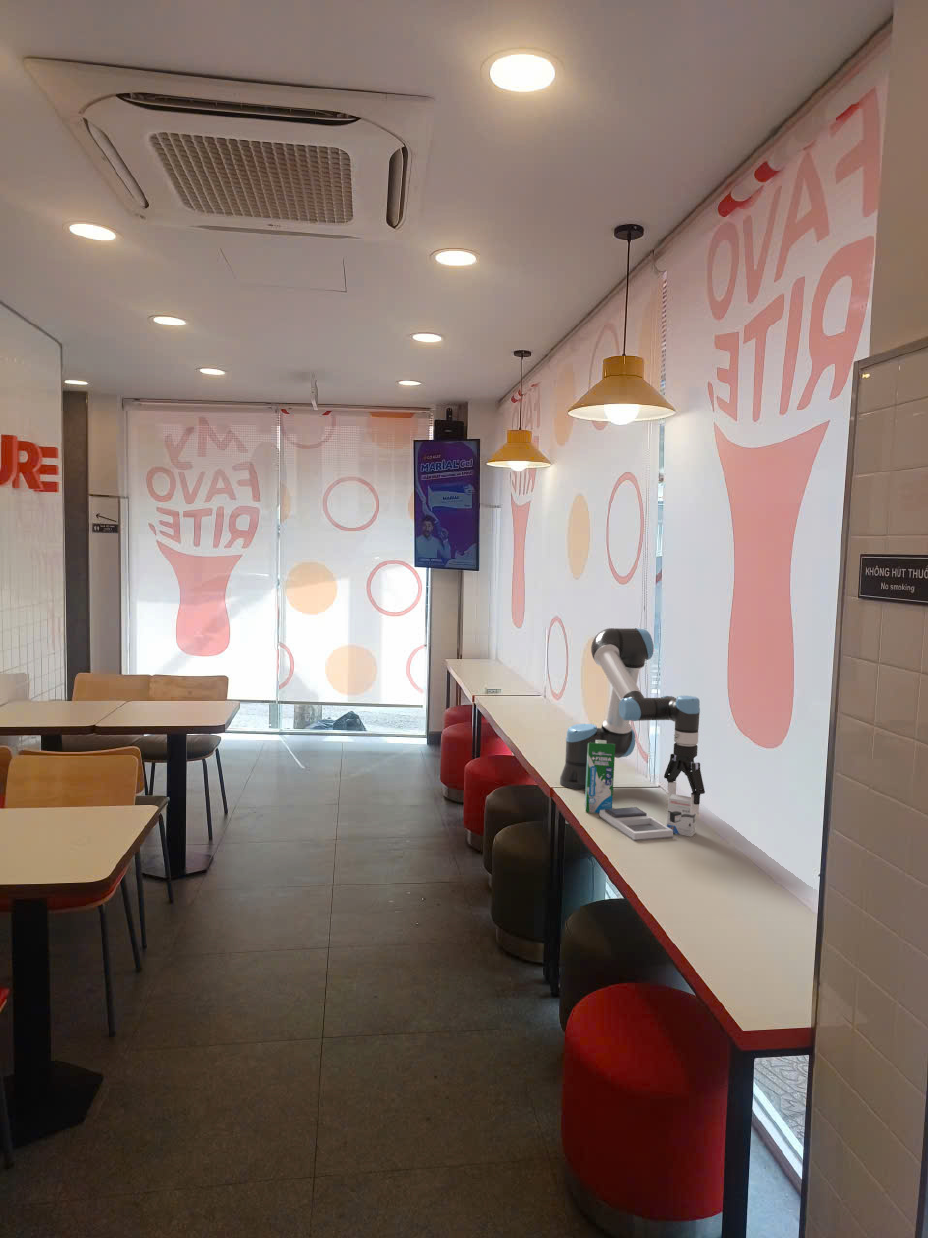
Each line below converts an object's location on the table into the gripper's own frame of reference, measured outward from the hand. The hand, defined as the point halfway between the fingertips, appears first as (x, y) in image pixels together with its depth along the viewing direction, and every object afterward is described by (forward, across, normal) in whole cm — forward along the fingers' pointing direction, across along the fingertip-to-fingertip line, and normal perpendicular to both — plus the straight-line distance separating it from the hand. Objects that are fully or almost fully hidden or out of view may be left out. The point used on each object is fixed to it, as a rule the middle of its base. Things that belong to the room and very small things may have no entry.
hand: (682, 807), depth 272 cm
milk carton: (+8, -28, -16) cm, 34 cm away
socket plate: (+8, -8, -12) cm, 17 cm away
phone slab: (+6, -15, -12) cm, 20 cm away
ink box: (+9, 0, 0) cm, 9 cm away
